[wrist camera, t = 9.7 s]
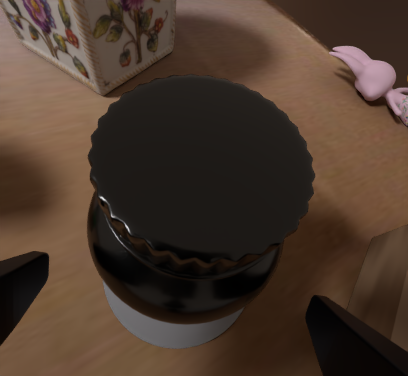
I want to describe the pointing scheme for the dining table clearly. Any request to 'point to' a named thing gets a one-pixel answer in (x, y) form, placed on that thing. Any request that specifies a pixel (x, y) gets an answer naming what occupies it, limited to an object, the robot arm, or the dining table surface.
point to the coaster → (167, 326)
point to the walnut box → (384, 287)
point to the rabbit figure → (374, 79)
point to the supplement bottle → (194, 196)
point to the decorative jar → (95, 36)
